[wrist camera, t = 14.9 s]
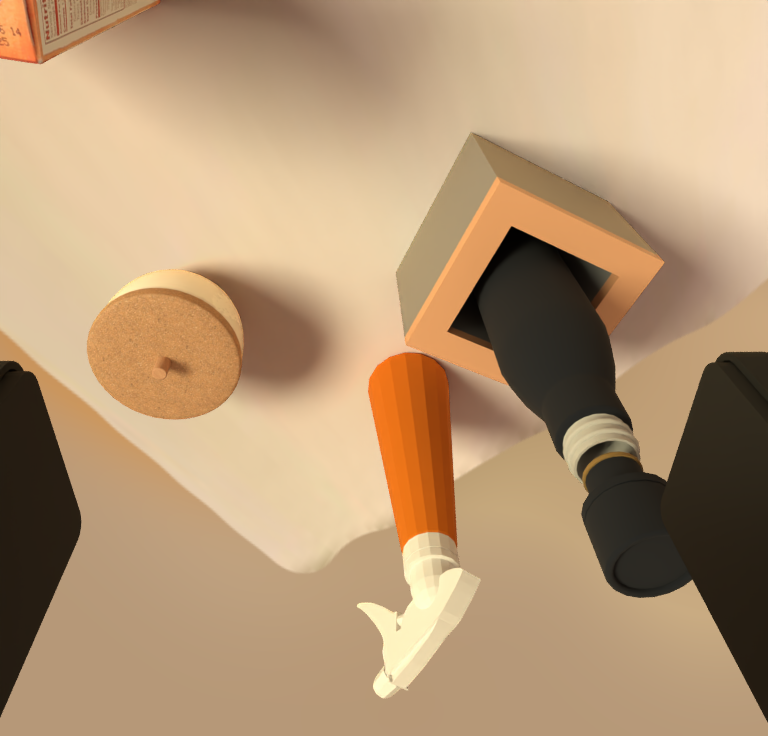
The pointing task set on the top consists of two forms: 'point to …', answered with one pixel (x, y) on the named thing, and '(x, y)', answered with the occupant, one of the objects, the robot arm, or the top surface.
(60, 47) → the cracker box
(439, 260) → the sleeve
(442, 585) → the spray bottle
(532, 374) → the black water bottle
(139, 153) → the top surface
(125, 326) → the lidded jar
